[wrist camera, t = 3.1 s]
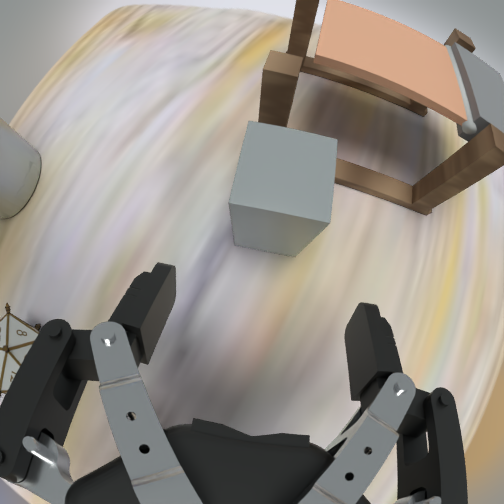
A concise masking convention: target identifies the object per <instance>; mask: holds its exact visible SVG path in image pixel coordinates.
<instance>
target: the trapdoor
mask: <svg viewBox="0 0 504 504" xmlns="http://www.w3.org/2000/svg"><path fill="white" fill-rule="evenodd" d="M313 63H316V64H319V65H323V66H326V67H329V68H333V69H336V70H339V71H342V72H345V73H348V74H351V75H354V76H357V77H359V78H362V79H365V80H368V81H370V82H373V83H375V84H378V85H380V86H383V87H385V88H388V89H390V90H392V91H395V92H397V93H399V94H401V95H404V96H406V97H408V98H410V99H412V100H414V101H416V102H418V103H420V104H422V105H424V106H426V107H428V108H430V109H432V110H434V111H436V112H438V113H440V114H442V115H443V116H445V117H447V118H449V119H450V120H452V121H454V122H456V124H457V130H458V136H460V137H461V138H463V139H465V140H466V141H468V142H469V141H470V140H471V139H472V138H474V137H475V136H476V135H477V134H479V133H480V132H481V131H482V130H483V129H484V128H486V127H487V126H488V125H489V124H490V123H491V124H492V125H494V126H495V127H496V128H498V129H499V130H500V131H502V132H503V133H504V82H503V80H502V78H501V75H500V73H498V72H497V71H496V70H494V69H493V68H492V67H490V66H489V65H488V64H487V63H485V62H484V61H482V60H481V59H480V58H478V57H477V56H475V55H474V54H472V53H471V52H470V51H468V50H467V49H465V48H464V47H462V46H460V45H459V44H457V43H456V42H454V44H453V45H452V47H451V46H449V45H442V44H440V43H439V42H437V41H435V40H433V39H431V38H430V37H428V36H426V35H424V34H422V33H420V32H418V31H416V30H414V29H412V28H410V27H408V26H406V25H403V24H401V23H399V22H396V21H395V20H392V19H390V18H387V17H385V16H383V15H380V14H378V13H375V12H372V11H369V10H367V9H364V8H361V7H358V6H355V5H352V4H349V3H346V2H343V1H340V0H327V4H326V9H325V13H324V18H323V22H322V27H321V31H320V36H319V40H318V45H317V49H316V53H315V58H314V62H313Z"/></svg>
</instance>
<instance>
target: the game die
mask: <svg viewBox="0 0 504 504" xmlns="http://www.w3.org/2000/svg"><path fill="white" fill-rule="evenodd" d="M5 308H6V311H7V314H6V315H5V316H4V317H3V318H2V319H1V320H0V396H1V393H4V394H6V393H7V391H8V389H9V387H10V385H11V383H12V381H13V379H14V377H15V375H16V373H17V371H18V369H19V367H20V365H21V364H22V362H23V360H24V358H25V356H26V355H27V353H28V351H29V349H30V348H31V346H32V344H33V342H34V341H35V339H36V337H37V336H38V334H39V331H38V330H39V328H40V324H36V326H35V328H34V327H32V326H31V325H29V324H27V323H26V322H24V321H22V320H21V319H19V318H17V317H16V316H14V315H13V314H11V313H10V310H11V309H10V306H9V305H8V303H7V304H6V307H5Z"/></svg>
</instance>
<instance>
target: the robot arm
mask: <svg viewBox="0 0 504 504" xmlns="http://www.w3.org/2000/svg"><path fill="white" fill-rule="evenodd" d="M40 168H41V160H40V155H39V153H38V151H37V150H36V149H35V148H34V147H33V146H31V145H30V144H29V143H28V142H27V141H26V140H25V139H24V138H22V137H21V136H20V135H19V134H18V133H17V132H16V131H15V130H14V129H13V128H11V127H10V126H9V125H8V124H7V123H6V122H5V121H4V120H3V119H2V118H0V218H10V217H12V216H14V215H15V214H17V213H18V212H19V211H20V210H21V209H22V208H23V207H24V205H25V204H26V203H27V202H28V200H29V198H30V197H31V195H32V193H33V191H34V189H35V187H36V184H37V181H38V178H39V174H40ZM175 297H176V268H175V266H173V265H168V264H164V263H159V262H158V263H157V264H156V265H155V267H154V269H153V270H152V272H151V273H149V272H145V271H144V272H143V273H141V274H140V275H139V276H137V277H136V278H135V279H134V280H133V282H132V284H131V285H130V288H128V290H127V291H126V293H125V295H124V296H123V298H122V299H121V301H120V303H119V304H118V306H117V307H116V309H115V311H114V312H113V314H112V316H111V317H110V319H109V320H108V322H103V323H101V324H99V325H97V326H96V327H95V328H94V329H93V330H73V329H71V327H70V325H69V323H68V322H66V321H65V320H62V319H54V320H51V321H49V322H47V323H46V324H45V325H44V326H43V328H42V329H41V331H40V332H39V334H38V336H37V337H36V339H35V341H34V342H33V344H32V346H31V348H30V349H29V351H28V353H27V355H26V356H25V358H24V360H23V362H22V364H21V365H20V367H19V369H18V371H17V373H16V375H15V377H14V379H13V381H12V383H11V385H10V387H9V389H8V391H7V393H6V395H5V397H4V400H3V402H2V404H1V406H0V477H1V478H4V479H6V480H7V481H8V482H10V483H13V484H15V485H18V486H20V487H23V488H25V489H27V490H29V491H31V492H32V493H34V494H35V495H37V496H39V497H41V498H42V499H44V500H46V501H48V502H50V503H51V504H371V503H370V502H369V501H368V500H367V498H366V497H365V496H364V495H363V493H364V492H365V490H366V489H367V487H368V486H369V485H370V483H371V482H372V480H373V479H374V477H375V476H376V474H377V473H378V471H379V470H380V468H381V467H382V465H383V463H384V462H385V460H386V459H387V457H388V455H389V454H390V452H391V450H392V449H393V447H394V445H395V443H397V469H398V496H397V501H396V502H395V503H394V504H468V500H467V499H468V497H467V480H466V467H465V458H464V450H463V443H462V436H461V430H460V424H459V419H458V414H457V409H456V404H455V400H454V397H453V395H452V394H451V393H450V392H449V391H448V390H447V389H445V388H441V387H440V388H436V389H435V390H434V391H433V392H431V393H428V392H425V391H423V390H420V389H417V388H415V385H414V382H413V381H412V379H411V378H410V377H408V376H407V375H405V374H403V371H402V367H401V363H400V358H399V355H398V351H397V347H396V346H395V344H396V343H395V339H394V338H393V337H394V336H393V332H392V329H391V326H390V325H389V323H388V322H387V320H386V319H385V318H384V317H381V316H380V312H379V309H378V306H377V305H375V304H369V303H362V302H361V303H359V304H358V306H357V308H356V310H355V312H354V314H353V315H352V317H351V319H350V321H349V323H348V324H347V327H346V330H345V346H346V354H347V362H348V371H349V381H350V391H351V400H352V401H360V402H361V406H360V407H359V408H358V409H357V411H356V412H355V414H354V415H353V416H352V418H351V419H350V420H349V422H348V423H347V424H346V426H345V427H344V428H343V429H342V431H341V432H340V433H339V435H338V436H337V437H336V438H335V439H334V440H333V441H332V442H331V443H330V444H329V445H328V446H327V447H326V448H325V449H323V448H321V447H319V446H318V445H315V444H313V443H310V442H309V437H310V435H297V434H285V433H279V434H271V435H261V436H249V435H247V434H244V433H242V432H239V431H237V430H234V429H232V428H230V427H227V426H225V425H223V424H218V423H214V422H209V421H204V420H200V419H196V418H193V422H192V424H184V425H177V426H172V427H169V428H166V429H164V430H163V429H162V427H161V424H160V422H159V420H158V418H157V415H156V413H155V411H154V408H153V406H152V404H151V401H150V399H149V396H148V394H147V391H146V389H145V386H144V383H143V381H142V378H141V376H140V374H139V371H138V366H139V364H140V362H141V363H144V364H147V365H148V364H149V361H150V359H151V356H152V354H153V352H154V349H155V347H156V344H157V342H158V340H159V337H160V335H161V333H162V330H163V328H164V326H165V324H166V321H167V319H168V317H169V314H170V312H171V310H172V308H173V305H174V302H175ZM88 380H90V381H100V386H99V390H100V395H101V398H102V402H103V405H104V409H105V412H106V415H107V418H108V421H109V424H110V428H111V430H112V433H113V436H114V439H115V442H116V445H117V447H118V450H119V452H120V455H121V456H119V457H118V458H116V459H114V460H113V461H111V462H109V463H107V464H106V465H104V466H102V467H100V468H98V469H97V470H95V471H93V472H91V473H89V474H87V475H85V476H83V477H81V478H80V479H78V480H76V481H75V482H74V481H73V480H72V478H71V476H70V472H69V467H70V458H69V455H68V453H67V451H66V450H65V449H64V448H63V445H64V442H65V439H66V436H67V433H68V430H69V427H70V424H71V422H72V419H73V416H74V414H75V411H76V408H77V406H78V403H79V401H80V398H81V396H82V393H83V391H84V388H85V386H86V383H87V381H88ZM426 432H428V441H429V452H428V449H427V439H426Z"/></svg>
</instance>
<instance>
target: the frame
mask: <svg viewBox="0 0 504 504" xmlns="http://www.w3.org/2000/svg"><path fill="white" fill-rule="evenodd" d="M318 4H319V0H296V5H295V11H294V17H293V22H292V28H291V34H290V40H289V45H288V51H286V53H282V52H277V51H272V50H271V51H270V53H269V56H268V58H267V60H266V63H265V65H264V68H263V74H262V86H261V97H260V108H259V120H258V122H259V123H265V124H271V125H276V126H281V127H287V123H288V119H289V115H290V110H291V106H292V102H293V98H294V94H295V89H296V85H297V81H298V77H299V73H300V71H302V72H305V73H309V74H313V75H316V76H320V77H323V78H327V79H330V80H333V81H336V82H339V83H342V84H345V85H348V86H351V87H354V88H357V89H360V90H363V91H365V92H368V93H371V94H373V95H376V96H378V97H381V98H383V99H386V100H388V101H390V102H393V103H395V104H397V105H400V106H402V107H404V108H406V109H408V110H411V111H413V112H415V113H417V114H419V115H421V116H423V117H424V116H425V115H426V114H427V113H428V112H427V107H426V106H424V105H422V104H420V103H418V102H416V101H414V100H412V99H410V98H408V97H406V96H404V95H401V94H399V93H397V92H395V91H392V90H390V89H388V88H385V87H383V86H380V85H378V84H375V83H373V82H370V81H368V80H365V79H362V78H359V77H357V76H354V75H351V74H348V73H345V72H342V71H339V70H336V69H333V68H329V67H326V66H323V65H319V64H316V63H313V62H314V58H311V57H307V56H306V53H307V49H308V45H309V41H310V37H311V33H312V29H313V25H314V21H315V16H316V12H317V8H318ZM454 42H456V43H457V44H459V45H460V46H462V47H464V48H465V49H467V50H468V51H470V52H471V53H472V52H473V51H474V50H475V46H474V44H473V42H472V40H471V39H470V38H469V37H468V36H466V35H465V34H463V33H462V32H460V31H459V30H457V29H454V30H453V32H452V33H451V35H450V36H449V38H448V39H447V41H446V42H445V44H444V45H449V46H451V47H452V45H453V44H454ZM503 165H504V133H503V132H502V131H500V130H499V129H498V128H496V127H495V126H494V125H492V124H491V123H490V124H489V125H488V126H487V127H486V128H484V129H483V130H482V131H481V132H480V133H479V134H477V135H476V136H475V137H474V138H472V139H471V140H470V141H469V142H468V143H466V144H465V145H464V146H463V147H462V148H460V149H459V150H458V151H457V152H455V153H454V154H453V155H452V156H450V157H449V158H448V159H447V160H445V161H444V162H443V163H442V164H440V165H439V166H438V167H437V168H435V169H434V170H433V171H431V172H430V173H429V174H428V175H426V176H425V177H424V178H422V179H421V180H420V181H419V182H417V183H416V184H415V185H413V186H411V185H409V184H406V183H404V182H401V181H399V180H396V179H394V178H391V177H389V176H386V175H384V174H381V173H378V172H376V171H373V170H370V169H367V168H365V167H362V166H359V165H356V164H353V163H350V162H347V161H344V160H341V159H338V158H336V169H335V181H334V183H338V184H341V185H344V186H347V187H350V188H353V189H356V190H359V191H362V192H365V193H368V194H371V195H374V196H376V197H379V198H382V199H385V200H388V201H390V202H393V203H396V204H398V205H401V206H404V207H406V208H409V209H411V210H414V211H416V212H419V213H421V214H424V215H428V214H430V213H432V208H434V207H436V206H437V205H439V204H441V203H442V202H444V201H446V200H448V199H449V198H451V197H453V196H454V195H456V194H458V193H460V192H461V191H463V190H465V189H466V188H468V187H470V186H471V185H473V184H474V183H476V182H478V181H479V180H481V179H483V178H484V177H486V176H487V175H489V174H491V173H492V172H494V171H495V170H497V169H499V168H500V167H502V166H503Z"/></svg>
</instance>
